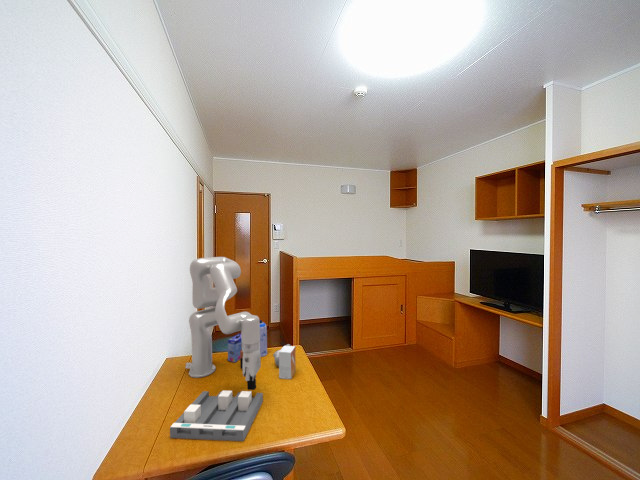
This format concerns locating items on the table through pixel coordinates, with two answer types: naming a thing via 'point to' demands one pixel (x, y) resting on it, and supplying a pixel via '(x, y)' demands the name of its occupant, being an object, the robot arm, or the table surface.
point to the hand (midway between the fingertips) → (251, 388)
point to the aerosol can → (263, 339)
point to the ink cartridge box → (234, 348)
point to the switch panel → (218, 420)
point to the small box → (287, 362)
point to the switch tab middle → (224, 400)
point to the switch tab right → (244, 400)
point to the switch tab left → (192, 413)
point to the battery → (241, 359)
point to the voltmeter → (278, 353)
